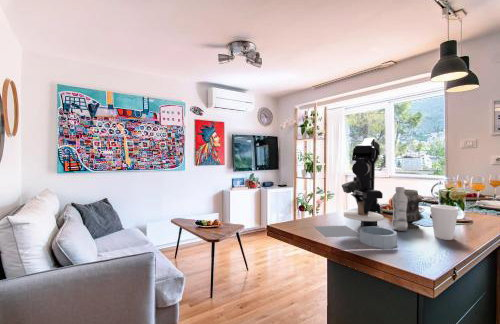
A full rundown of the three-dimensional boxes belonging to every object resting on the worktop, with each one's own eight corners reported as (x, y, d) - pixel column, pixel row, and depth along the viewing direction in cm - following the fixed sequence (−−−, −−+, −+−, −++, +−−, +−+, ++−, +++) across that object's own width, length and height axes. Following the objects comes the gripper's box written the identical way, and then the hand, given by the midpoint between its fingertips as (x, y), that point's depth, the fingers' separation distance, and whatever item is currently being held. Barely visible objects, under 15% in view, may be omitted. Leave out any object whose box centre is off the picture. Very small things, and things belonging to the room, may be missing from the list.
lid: (371, 212, 113) (371, 199, 113) (391, 221, 98) (391, 205, 98) (338, 213, 113) (338, 199, 112) (353, 221, 98) (353, 205, 97)
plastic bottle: (405, 229, 120) (406, 186, 120) (409, 233, 114) (409, 188, 114) (390, 228, 123) (390, 186, 122) (393, 231, 116) (393, 188, 116)
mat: (345, 226, 125) (345, 225, 125) (362, 237, 109) (362, 235, 109) (313, 227, 124) (313, 226, 124) (325, 238, 108) (325, 236, 108)
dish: (383, 237, 108) (383, 226, 108) (404, 248, 95) (404, 235, 95) (353, 238, 107) (353, 226, 107) (370, 249, 94) (370, 236, 94)
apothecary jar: (405, 222, 132) (405, 188, 132) (428, 228, 121) (428, 190, 121) (387, 224, 129) (387, 189, 128) (409, 231, 117) (409, 192, 117)
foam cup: (450, 242, 102) (450, 210, 102) (425, 236, 110) (425, 206, 110) (462, 238, 106) (462, 207, 106) (437, 232, 114) (438, 204, 114)
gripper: (335, 173, 114) (335, 208, 114) (354, 176, 95) (354, 218, 96) (360, 173, 115) (359, 208, 115) (383, 176, 96) (383, 217, 96)
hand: (363, 212), depth 105 cm, fingers closed on lid, 4 cm apart
